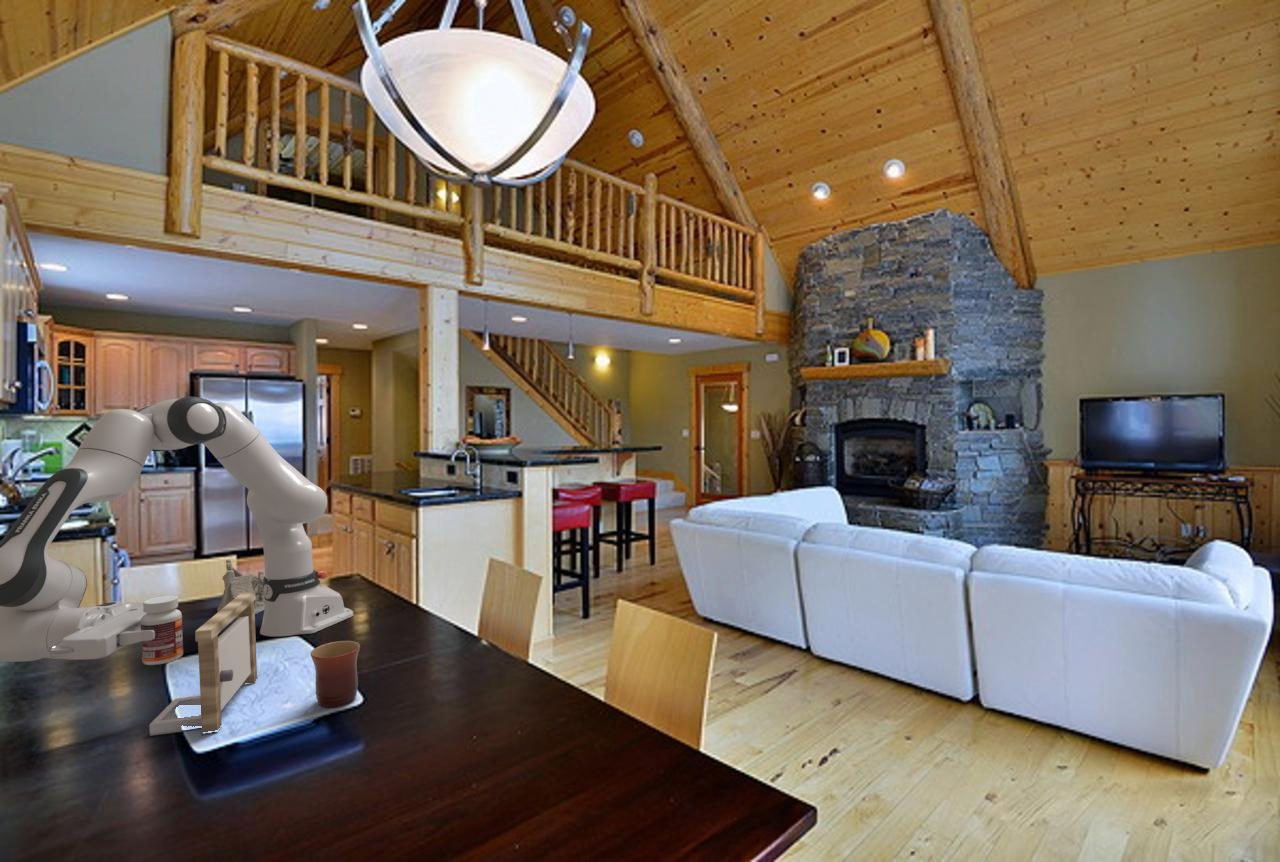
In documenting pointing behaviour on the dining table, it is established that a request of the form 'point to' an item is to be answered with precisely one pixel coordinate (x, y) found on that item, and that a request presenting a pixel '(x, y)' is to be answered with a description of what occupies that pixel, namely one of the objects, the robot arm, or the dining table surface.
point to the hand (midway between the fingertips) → (167, 626)
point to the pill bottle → (162, 630)
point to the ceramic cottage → (242, 587)
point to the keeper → (168, 720)
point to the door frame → (210, 656)
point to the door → (233, 658)
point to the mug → (336, 672)
